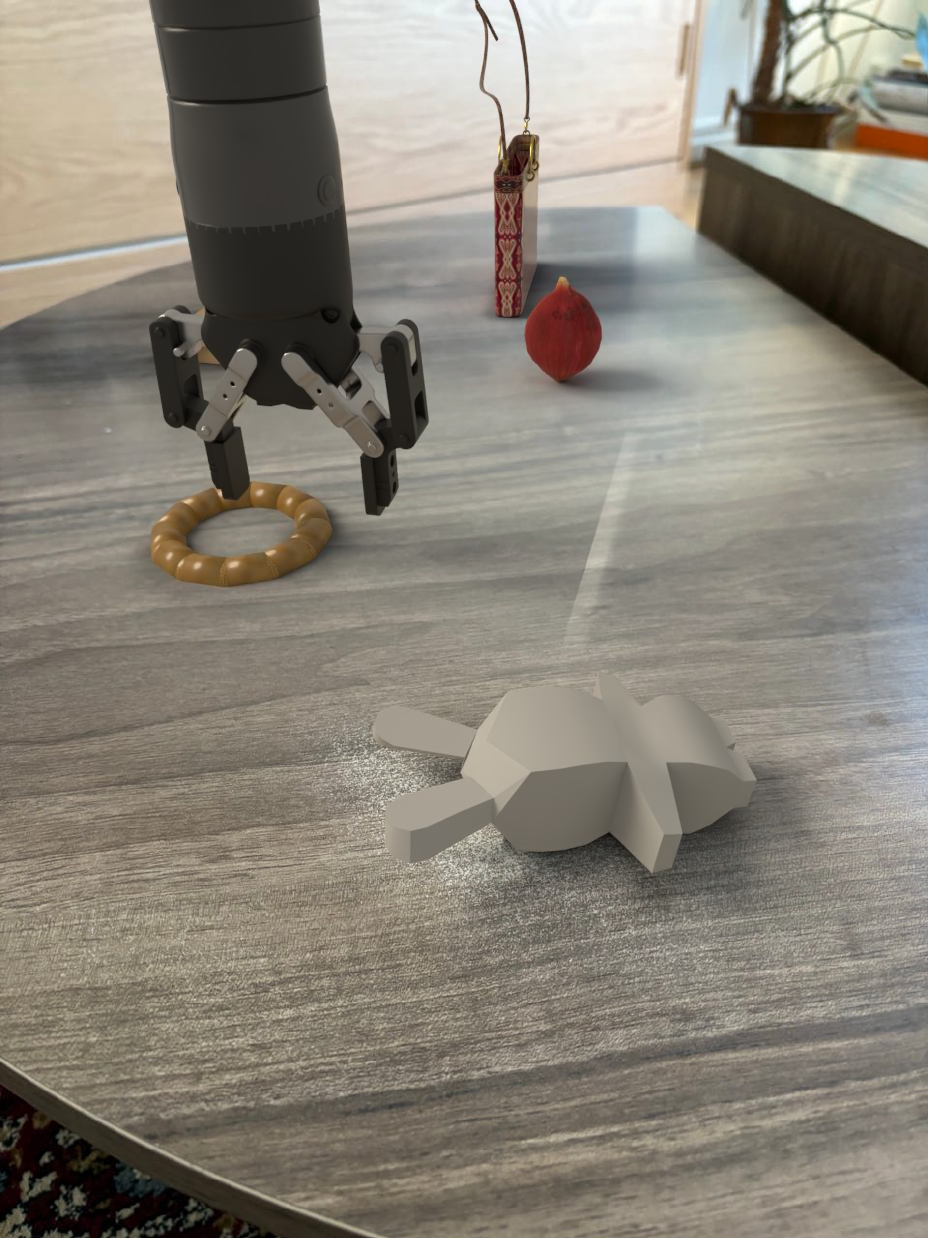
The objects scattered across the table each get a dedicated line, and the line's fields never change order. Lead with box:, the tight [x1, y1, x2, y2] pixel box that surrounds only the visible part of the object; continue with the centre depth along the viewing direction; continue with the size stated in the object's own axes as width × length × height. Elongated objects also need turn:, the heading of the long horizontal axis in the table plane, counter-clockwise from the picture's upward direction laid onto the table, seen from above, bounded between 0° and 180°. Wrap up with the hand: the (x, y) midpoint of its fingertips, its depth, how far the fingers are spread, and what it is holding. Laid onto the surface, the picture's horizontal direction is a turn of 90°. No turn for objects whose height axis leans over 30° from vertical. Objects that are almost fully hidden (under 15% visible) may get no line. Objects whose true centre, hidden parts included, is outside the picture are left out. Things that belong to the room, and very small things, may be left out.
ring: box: [150, 480, 333, 588], centre depth 59 cm, size 10×10×2 cm
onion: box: [523, 276, 603, 383], centre depth 75 cm, size 6×6×8 cm
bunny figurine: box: [371, 671, 758, 874], centre depth 41 cm, size 10×5×15 cm
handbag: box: [474, 0, 540, 318], centre depth 89 cm, size 7×21×25 cm, turn 171°
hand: (306, 500), depth 56 cm, fingers open, 8 cm apart
